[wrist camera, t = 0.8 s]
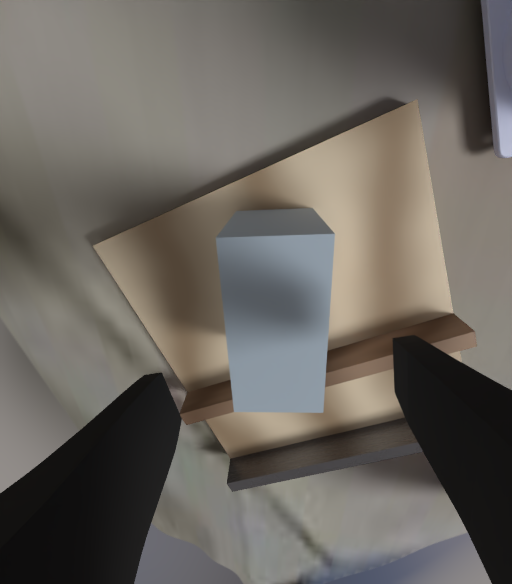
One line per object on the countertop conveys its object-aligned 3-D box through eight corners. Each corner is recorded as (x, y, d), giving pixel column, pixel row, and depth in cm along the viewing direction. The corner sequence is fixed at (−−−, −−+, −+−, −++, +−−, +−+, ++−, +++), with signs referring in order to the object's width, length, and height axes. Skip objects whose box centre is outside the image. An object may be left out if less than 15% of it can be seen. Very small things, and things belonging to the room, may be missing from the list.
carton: (236, 210, 15) (215, 237, 10) (313, 207, 15) (336, 233, 10) (245, 338, 19) (233, 411, 13) (309, 337, 18) (324, 412, 13)
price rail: (468, 402, 20) (488, 427, 18) (470, 414, 20) (489, 439, 18) (230, 458, 23) (226, 483, 22) (236, 467, 24) (233, 492, 22)
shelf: (407, 103, 14) (441, 88, 11) (461, 401, 21) (489, 438, 18) (102, 241, 17) (70, 256, 15) (236, 455, 25) (232, 491, 22)
